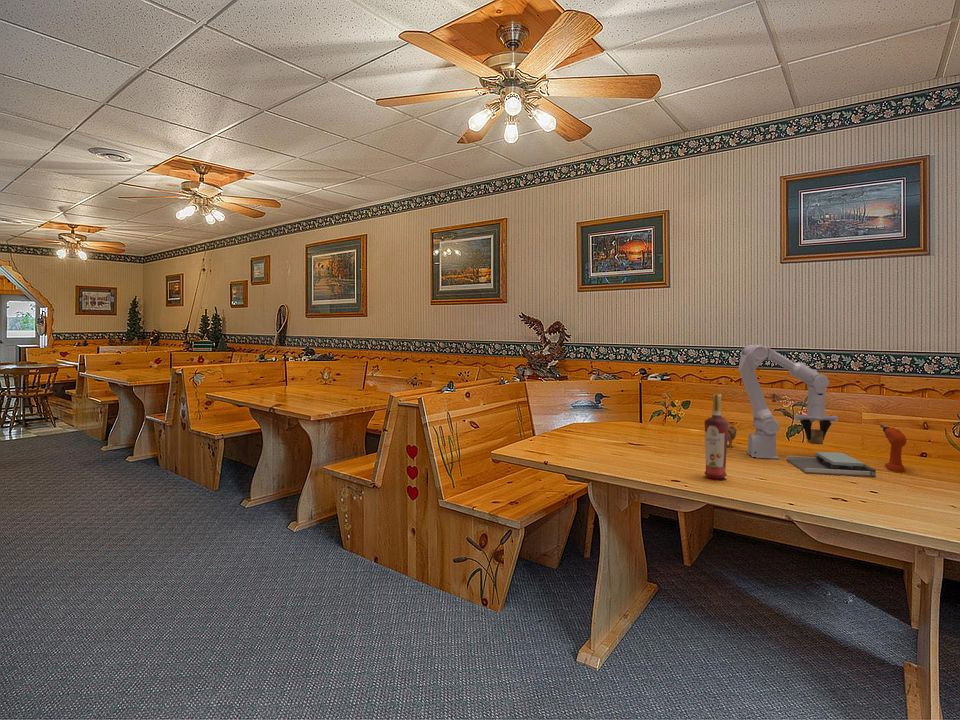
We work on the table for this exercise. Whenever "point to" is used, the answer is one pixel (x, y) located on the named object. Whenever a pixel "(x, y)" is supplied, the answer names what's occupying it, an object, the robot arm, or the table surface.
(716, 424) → the liquor
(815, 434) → the block
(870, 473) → the track
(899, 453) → the toy drill
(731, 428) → the lion figurine
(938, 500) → the table surface
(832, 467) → the grey flat slab
